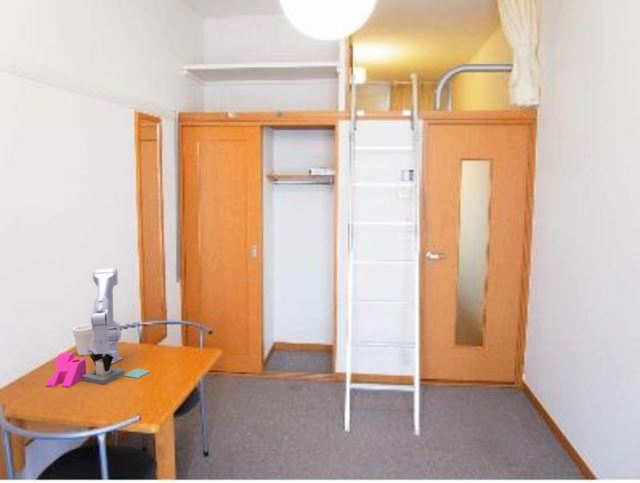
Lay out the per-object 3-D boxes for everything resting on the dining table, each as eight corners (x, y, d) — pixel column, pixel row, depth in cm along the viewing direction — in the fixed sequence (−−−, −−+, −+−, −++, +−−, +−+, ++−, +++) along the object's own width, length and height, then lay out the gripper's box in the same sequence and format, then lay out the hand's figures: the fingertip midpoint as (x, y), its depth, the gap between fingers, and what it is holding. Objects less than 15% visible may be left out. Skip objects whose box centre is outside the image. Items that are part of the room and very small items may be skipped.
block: (96, 376, 206) (95, 361, 205) (103, 373, 209) (102, 358, 208) (103, 378, 204) (102, 362, 203) (110, 374, 208) (109, 359, 207)
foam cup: (70, 354, 234) (68, 328, 232) (87, 348, 242) (86, 323, 240) (82, 358, 229) (80, 331, 228) (99, 352, 237) (98, 326, 235)
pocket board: (81, 380, 203) (81, 376, 203) (103, 370, 215) (103, 365, 214) (103, 384, 199) (103, 380, 199) (124, 373, 210) (124, 369, 210)
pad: (123, 376, 208) (123, 375, 208) (136, 369, 215) (136, 368, 215) (137, 378, 205) (137, 377, 205) (150, 371, 213) (150, 370, 213)
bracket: (63, 375, 209) (62, 352, 208) (86, 375, 209) (84, 353, 207) (46, 387, 197) (44, 363, 196) (70, 387, 197) (68, 363, 195)
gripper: (80, 340, 204) (82, 371, 205) (107, 344, 198) (109, 376, 200) (94, 335, 210) (96, 365, 212) (119, 339, 205) (121, 369, 207)
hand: (103, 370), depth 206 cm, fingers closed on block, 4 cm apart
